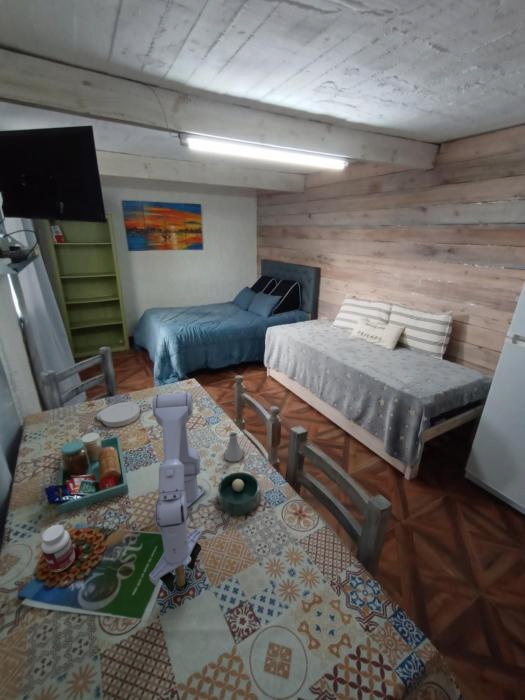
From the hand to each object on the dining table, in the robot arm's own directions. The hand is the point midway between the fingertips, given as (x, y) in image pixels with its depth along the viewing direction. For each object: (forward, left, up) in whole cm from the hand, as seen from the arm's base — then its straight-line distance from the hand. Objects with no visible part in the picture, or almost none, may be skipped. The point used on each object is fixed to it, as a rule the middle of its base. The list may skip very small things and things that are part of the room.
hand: (180, 577), depth 79 cm
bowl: (-5, +29, -2) cm, 29 cm away
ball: (-7, +31, +1) cm, 32 cm away
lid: (-82, +33, -2) cm, 88 cm away
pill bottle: (-30, -15, -2) cm, 34 cm away
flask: (-20, +44, -2) cm, 48 cm away
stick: (0, 0, -2) cm, 2 cm away
